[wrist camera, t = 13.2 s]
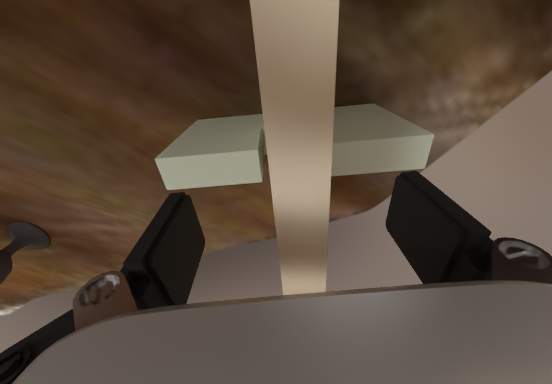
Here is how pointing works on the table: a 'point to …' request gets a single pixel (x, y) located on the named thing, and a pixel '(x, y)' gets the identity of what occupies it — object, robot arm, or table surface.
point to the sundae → (20, 243)
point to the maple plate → (298, 129)
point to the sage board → (252, 147)
